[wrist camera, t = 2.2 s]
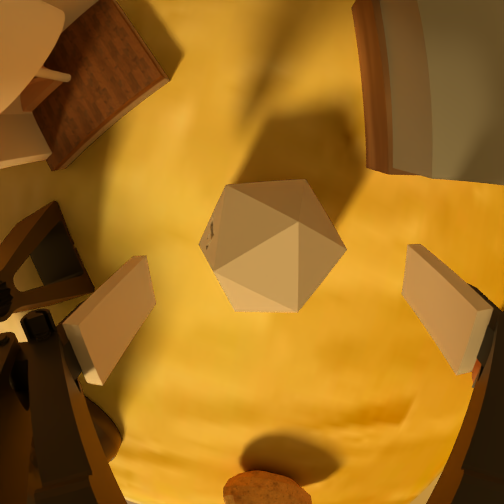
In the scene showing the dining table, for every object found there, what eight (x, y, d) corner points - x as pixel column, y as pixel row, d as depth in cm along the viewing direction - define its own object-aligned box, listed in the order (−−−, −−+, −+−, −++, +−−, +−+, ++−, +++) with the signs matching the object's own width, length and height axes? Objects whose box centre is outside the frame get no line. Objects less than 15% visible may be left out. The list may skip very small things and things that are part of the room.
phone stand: (95, 290, 26) (19, 369, 15) (55, 302, 27) (-17, 371, 16) (57, 199, 23) (-45, 242, 12) (19, 222, 24) (-70, 266, 13)
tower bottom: (364, 167, 22) (388, 174, 17) (350, 9, 17) (367, -18, 13) (492, 174, 21) (527, 183, 16) (480, 37, 16) (512, 26, 12)
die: (295, 150, 22) (190, 158, 15) (384, 231, 19) (313, 286, 12) (249, 228, 27) (154, 262, 20) (318, 302, 24) (236, 366, 18)
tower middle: (392, 167, 17) (431, 178, 12) (377, -9, 13) (405, -44, 8) (522, 181, 16) (566, 194, 11) (511, 33, 12) (551, 23, 7)
